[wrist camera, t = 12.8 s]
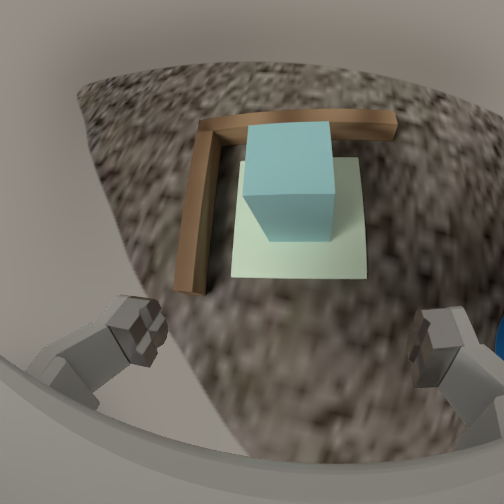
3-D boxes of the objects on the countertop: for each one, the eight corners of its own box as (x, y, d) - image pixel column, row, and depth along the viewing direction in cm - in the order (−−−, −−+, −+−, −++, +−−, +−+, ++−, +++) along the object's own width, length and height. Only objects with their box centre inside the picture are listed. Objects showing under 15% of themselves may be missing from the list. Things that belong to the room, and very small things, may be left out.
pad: (357, 158, 22) (357, 157, 22) (366, 278, 19) (366, 278, 19) (241, 162, 24) (240, 161, 24) (231, 277, 22) (230, 276, 21)
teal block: (328, 186, 22) (328, 121, 14) (329, 241, 20) (335, 193, 13) (271, 188, 23) (248, 125, 15) (269, 241, 21) (242, 195, 14)
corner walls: (389, 128, 22) (394, 111, 19) (411, 298, 18) (422, 295, 16) (208, 135, 26) (199, 120, 23) (188, 294, 22) (173, 290, 20)
